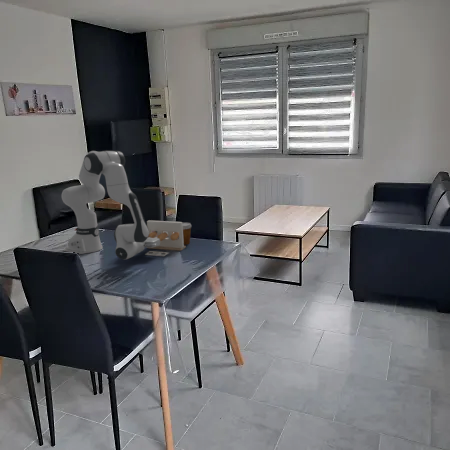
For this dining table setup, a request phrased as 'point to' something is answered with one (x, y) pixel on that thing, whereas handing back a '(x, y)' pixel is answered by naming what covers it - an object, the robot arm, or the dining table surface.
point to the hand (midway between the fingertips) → (148, 237)
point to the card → (157, 253)
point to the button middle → (162, 236)
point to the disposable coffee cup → (186, 232)
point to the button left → (153, 234)
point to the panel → (170, 228)
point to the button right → (174, 236)
